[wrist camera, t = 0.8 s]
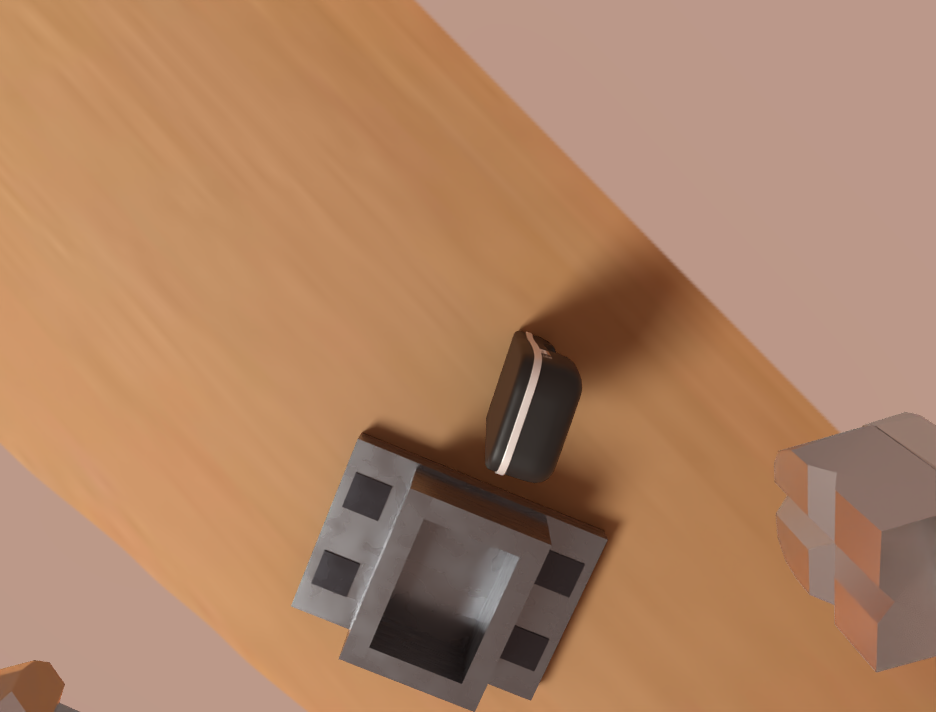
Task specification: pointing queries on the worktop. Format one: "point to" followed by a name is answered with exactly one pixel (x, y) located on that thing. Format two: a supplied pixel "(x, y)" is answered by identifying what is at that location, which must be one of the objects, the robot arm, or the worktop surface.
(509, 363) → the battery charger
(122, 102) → the worktop surface
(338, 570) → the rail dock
